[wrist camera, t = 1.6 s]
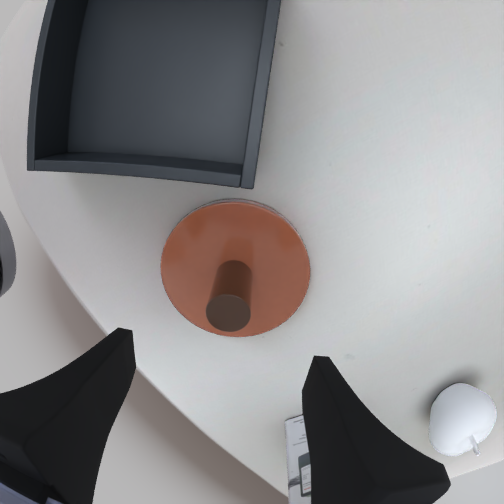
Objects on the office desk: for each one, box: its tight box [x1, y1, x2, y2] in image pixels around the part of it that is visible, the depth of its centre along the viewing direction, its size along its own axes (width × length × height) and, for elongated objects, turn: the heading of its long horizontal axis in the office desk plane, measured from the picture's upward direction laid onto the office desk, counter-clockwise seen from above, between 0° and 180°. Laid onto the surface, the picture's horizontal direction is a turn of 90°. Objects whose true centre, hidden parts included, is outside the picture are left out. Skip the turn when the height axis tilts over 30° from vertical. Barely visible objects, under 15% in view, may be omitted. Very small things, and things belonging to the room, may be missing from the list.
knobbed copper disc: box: [161, 199, 310, 337], centre depth 18 cm, size 9×9×5 cm
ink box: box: [285, 415, 311, 504], centre depth 21 cm, size 9×5×12 cm, turn 27°
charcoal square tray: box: [27, 0, 281, 189], centre depth 13 cm, size 12×12×4 cm
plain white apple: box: [429, 383, 497, 456], centre depth 21 cm, size 7×7×8 cm
